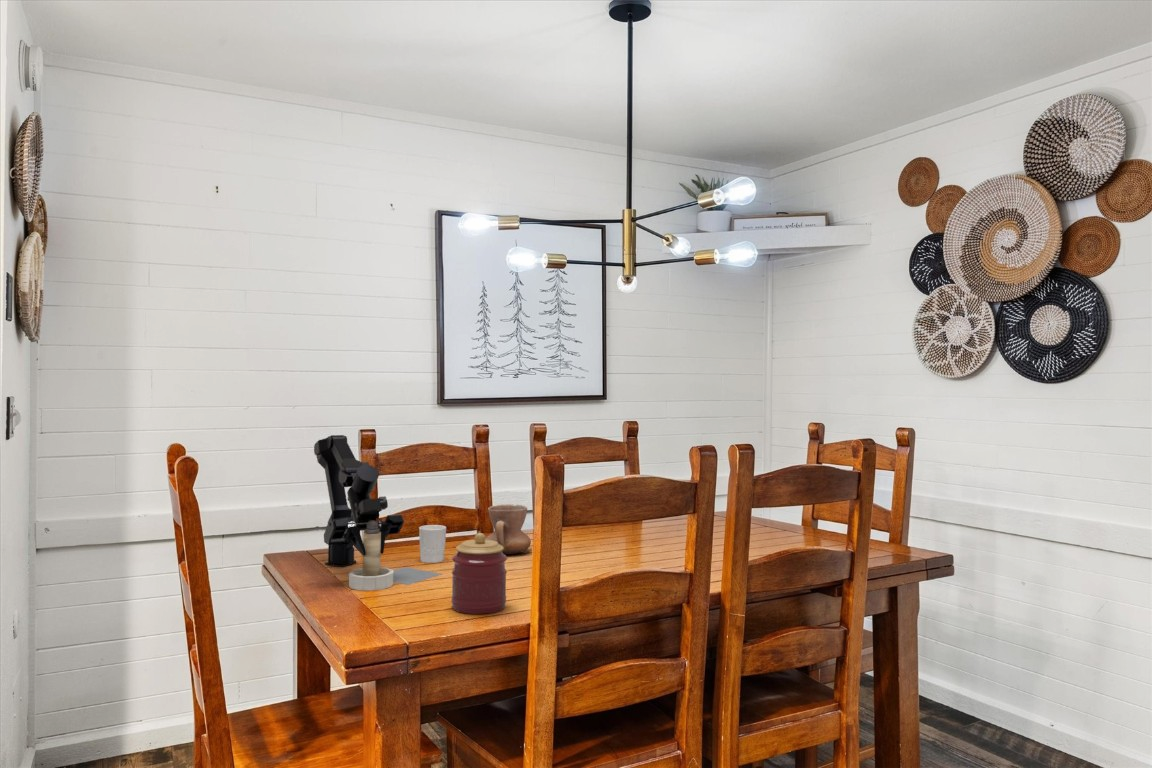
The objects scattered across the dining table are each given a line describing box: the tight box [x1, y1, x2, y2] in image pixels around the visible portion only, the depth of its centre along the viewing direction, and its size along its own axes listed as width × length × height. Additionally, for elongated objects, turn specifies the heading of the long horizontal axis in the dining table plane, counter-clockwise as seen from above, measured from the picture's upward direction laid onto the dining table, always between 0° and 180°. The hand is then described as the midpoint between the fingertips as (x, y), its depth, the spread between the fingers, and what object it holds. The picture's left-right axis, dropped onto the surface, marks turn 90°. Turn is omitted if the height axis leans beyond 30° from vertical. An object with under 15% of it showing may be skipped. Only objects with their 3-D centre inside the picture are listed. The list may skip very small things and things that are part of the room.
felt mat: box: [393, 566, 443, 586], centre depth 218 cm, size 14×14×1 cm
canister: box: [450, 532, 508, 615], centre depth 190 cm, size 13×13×18 cm
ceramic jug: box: [486, 503, 532, 555], centre depth 250 cm, size 18×14×14 cm
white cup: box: [418, 524, 447, 564], centre depth 236 cm, size 8×8×10 cm
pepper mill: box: [362, 520, 382, 576], centre depth 207 cm, size 4×4×15 cm
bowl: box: [348, 566, 395, 592], centre depth 207 cm, size 11×11×4 cm
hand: (373, 553), depth 206 cm, fingers closed on pepper mill, 4 cm apart
